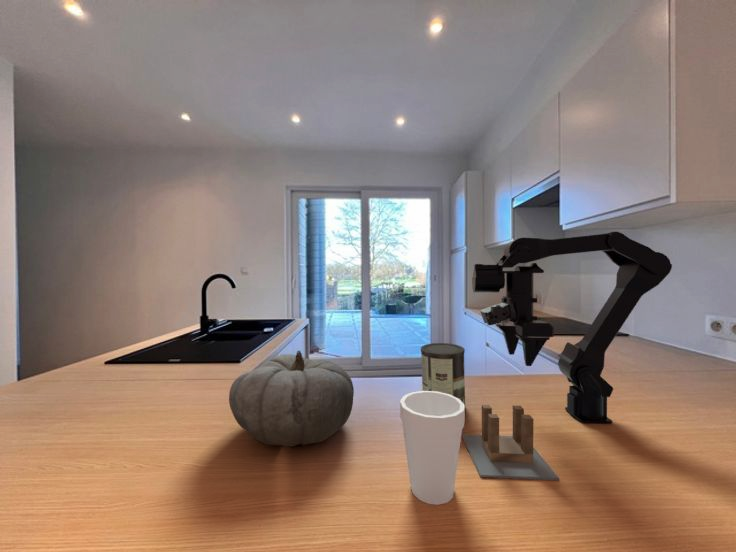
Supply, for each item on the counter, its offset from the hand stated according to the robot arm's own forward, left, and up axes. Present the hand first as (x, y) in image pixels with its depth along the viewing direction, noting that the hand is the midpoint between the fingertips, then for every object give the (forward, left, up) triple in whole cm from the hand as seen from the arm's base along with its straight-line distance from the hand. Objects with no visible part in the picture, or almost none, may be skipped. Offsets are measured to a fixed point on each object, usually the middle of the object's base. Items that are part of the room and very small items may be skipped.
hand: (519, 359), depth 71 cm
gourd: (+50, +11, -12) cm, 53 cm away
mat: (+10, +18, -12) cm, 24 cm away
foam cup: (+24, +27, -12) cm, 38 cm away
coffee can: (+17, -2, -12) cm, 21 cm away
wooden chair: (+10, +18, -12) cm, 24 cm away
